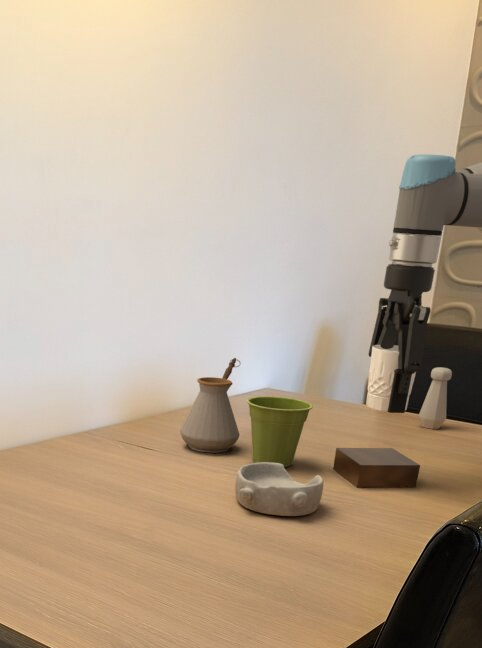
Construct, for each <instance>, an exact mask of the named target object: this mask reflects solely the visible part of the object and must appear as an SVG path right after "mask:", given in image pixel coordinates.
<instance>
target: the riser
mask: <svg viewBox="0 0 482 648" xmlns="http://www.w3.org/2000/svg"><path fill="white" fill-rule="evenodd" d="M333 460H334V461H333V468H332V469H333V470H334V471H335V472H336V473H337V474H339V475H340V476H341V477H342V478H343V479H345V480H347V481H348V482H349V483H351V484H352V485H353V486H354V487H356V488H358V489H359V488H360V489H361V488H362V489H363V488H368V489H369V488H370V489H371V488H373V489H374V488H417V484H418V479H419V474H420V469H421V464H419V463H417V462H416V461H414V460H413V459H411V458H409V457H408V456H406V455H404V454H403V453H401V452H399V451H398V450H397V449H395V448H392V447H336V448H335V453H334V459H333Z"/></svg>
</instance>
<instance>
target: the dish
mask: <svg viewBox="0 0 482 648" xmlns="http://www.w3.org/2000/svg"><path fill="white" fill-rule="evenodd" d="M323 490H324V479H323V477H322V476H321V475H315V476H314V477H313V478H312V479H311V480H310V481H309V482H306V483H302V482H299V481H296V480H294V479H293V477H291V474H289V473H288V471H287V469H286V467H285V468H284V465H283V464H280V463H271V462H259V463H254V462H252V463H248V464H247V463H246V464H244V465H242V466H241V467H240V468H239V469H238V470H237V472H236V477H235V483H234V494H235V499H236V500H237V502H238V503H239V504H240V505H241V506H243V507H244V508H246V509H248V510H251V511H253V512H256V513H260V514H266V515H271V516H272V515H273V516H282V517H301V516H306V515H310V514H312V513H314V512H316V510H317V509H318V508H319V506H320V503H321V500H322V497H323V492H324V491H323Z"/></svg>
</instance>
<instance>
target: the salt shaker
mask: <svg viewBox="0 0 482 648" xmlns="http://www.w3.org/2000/svg"><path fill="white" fill-rule="evenodd" d="M452 375H453V372H452V370H451V369H450V368H448V367H440V366H439V367H434V368H432V370H431V372H430V378H431V379H432V380H431V383H430V386H429V388H428V391H427V393H426V396H425V399H424V401H423V404H422V406H421V408H420V411H419V413H418V418H419V422H420V426H421V427H422V428H425V429H430V430H439V429H441V427H442V425H444V423H445V421H446V420H447V402H448V400H447V399H448V397H447V396H448V381H450V380H451V379H452Z"/></svg>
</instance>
